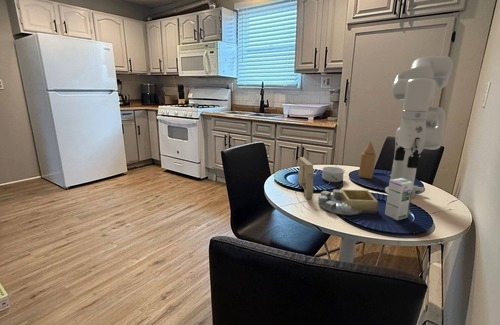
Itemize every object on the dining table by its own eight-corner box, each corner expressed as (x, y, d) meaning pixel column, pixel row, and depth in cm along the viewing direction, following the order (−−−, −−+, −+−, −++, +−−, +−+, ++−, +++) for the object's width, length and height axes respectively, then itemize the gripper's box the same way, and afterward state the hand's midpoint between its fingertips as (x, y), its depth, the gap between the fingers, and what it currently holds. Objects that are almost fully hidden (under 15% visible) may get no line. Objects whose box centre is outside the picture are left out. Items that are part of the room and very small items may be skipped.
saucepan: (322, 188, 129) (323, 177, 128) (320, 175, 148) (321, 165, 147) (347, 190, 127) (348, 179, 126) (342, 177, 146) (343, 167, 144)
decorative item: (372, 175, 148) (378, 140, 142) (371, 179, 142) (376, 142, 137) (360, 173, 151) (364, 139, 146) (358, 177, 146) (362, 141, 140)
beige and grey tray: (364, 198, 118) (365, 187, 116) (379, 217, 101) (381, 205, 99) (315, 196, 119) (316, 185, 118) (322, 214, 102) (323, 202, 101)
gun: (313, 200, 115) (315, 166, 112) (305, 200, 115) (307, 166, 112) (303, 185, 139) (304, 156, 136) (297, 185, 139) (298, 156, 136)
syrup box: (397, 220, 98) (404, 184, 94) (383, 214, 103) (389, 178, 99) (407, 218, 100) (414, 182, 96) (394, 211, 106) (400, 177, 102)
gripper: (440, 119, 83) (429, 171, 87) (412, 114, 99) (404, 158, 104) (415, 118, 83) (405, 170, 88) (391, 113, 100) (384, 157, 105)
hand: (405, 163), depth 96 cm, fingers open, 9 cm apart
